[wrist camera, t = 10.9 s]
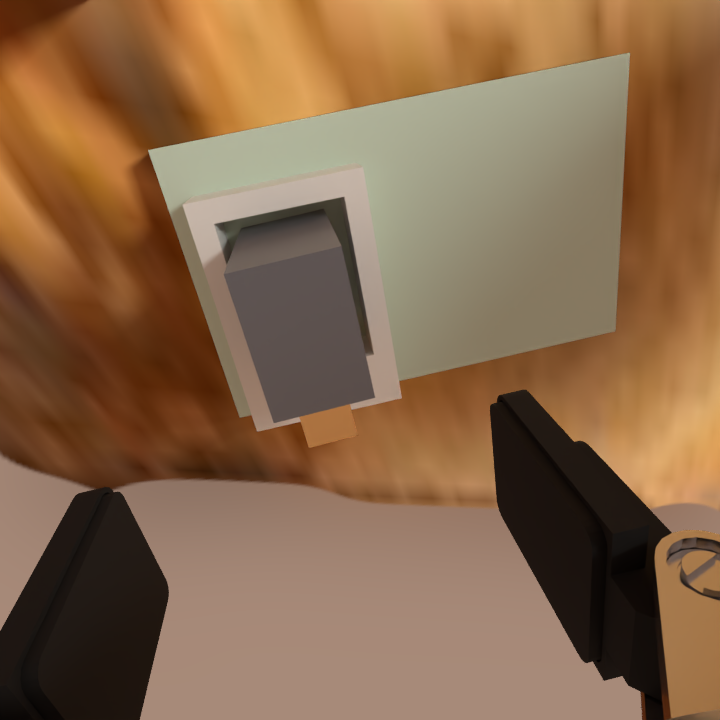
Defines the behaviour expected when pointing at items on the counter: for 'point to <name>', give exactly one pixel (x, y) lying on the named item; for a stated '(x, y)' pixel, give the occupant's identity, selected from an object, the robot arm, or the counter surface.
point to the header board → (427, 218)
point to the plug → (301, 323)
